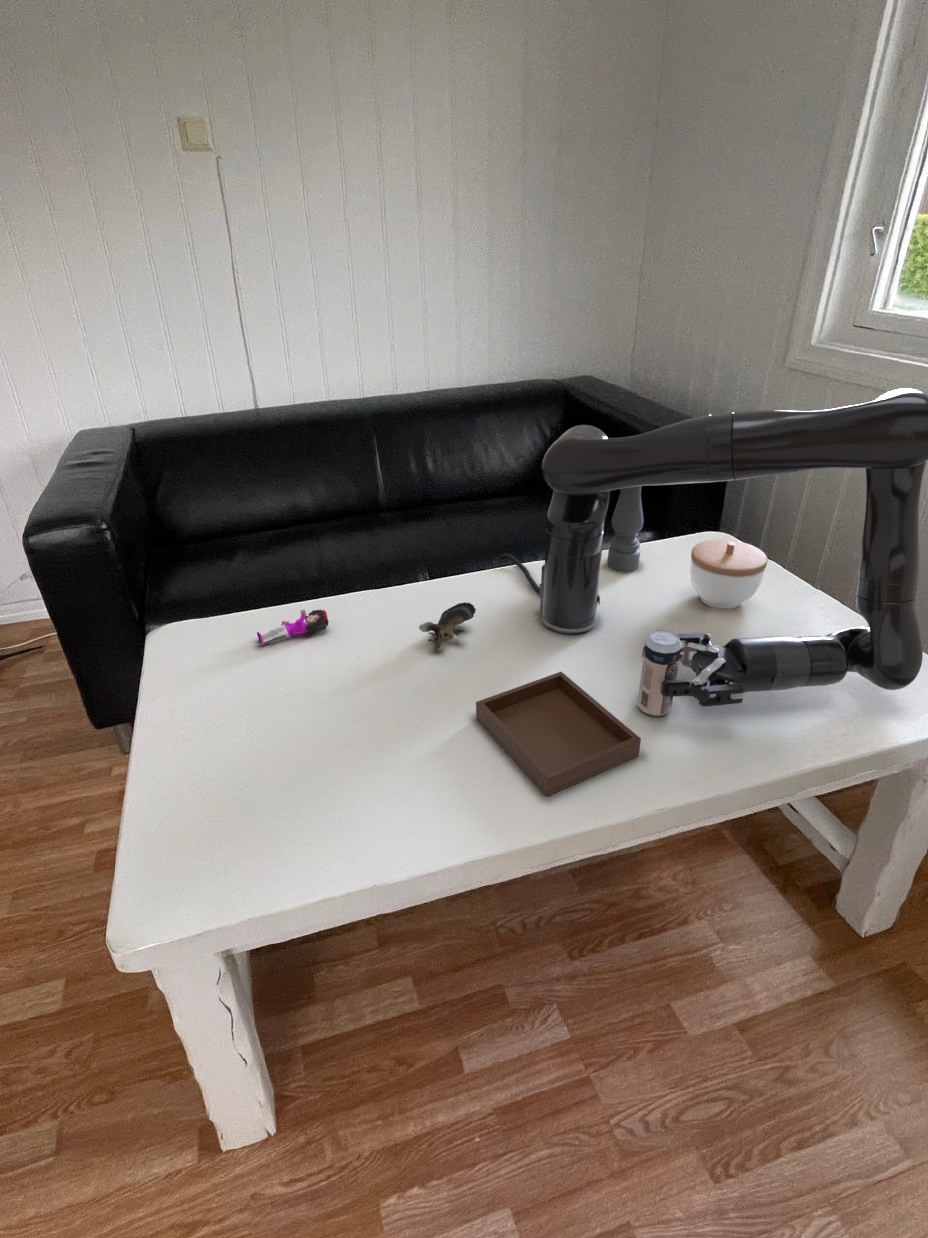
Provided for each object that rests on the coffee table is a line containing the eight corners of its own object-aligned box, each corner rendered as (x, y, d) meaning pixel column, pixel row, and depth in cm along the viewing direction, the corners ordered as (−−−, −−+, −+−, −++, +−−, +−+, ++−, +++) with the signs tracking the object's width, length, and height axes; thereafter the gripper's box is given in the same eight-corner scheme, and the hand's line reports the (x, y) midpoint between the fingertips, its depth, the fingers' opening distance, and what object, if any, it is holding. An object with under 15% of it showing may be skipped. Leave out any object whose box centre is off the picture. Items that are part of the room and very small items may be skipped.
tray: (475, 718, 99) (475, 701, 97) (560, 687, 105) (561, 671, 103) (546, 797, 86) (547, 779, 84) (638, 756, 91) (641, 738, 90)
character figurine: (264, 656, 116) (334, 633, 119) (255, 631, 113) (326, 607, 116) (259, 640, 120) (326, 618, 123) (250, 615, 118) (319, 593, 121)
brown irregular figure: (466, 653, 111) (486, 618, 117) (439, 621, 109) (461, 586, 115) (433, 664, 116) (454, 629, 122) (407, 633, 114) (429, 599, 120)
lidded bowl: (753, 586, 131) (764, 531, 125) (761, 620, 120) (775, 562, 114) (683, 580, 133) (691, 526, 128) (685, 613, 123) (695, 556, 117)
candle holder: (641, 561, 141) (656, 438, 128) (634, 574, 136) (649, 448, 123) (611, 556, 143) (623, 435, 130) (603, 568, 138) (614, 444, 125)
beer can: (672, 720, 98) (683, 648, 92) (637, 716, 99) (646, 645, 92) (670, 699, 102) (681, 629, 96) (636, 695, 103) (645, 626, 96)
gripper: (749, 614, 102) (640, 620, 101) (796, 670, 89) (672, 678, 89) (740, 657, 106) (634, 663, 105) (783, 716, 93) (664, 724, 93)
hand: (652, 670), depth 97 cm, fingers open, 8 cm apart
